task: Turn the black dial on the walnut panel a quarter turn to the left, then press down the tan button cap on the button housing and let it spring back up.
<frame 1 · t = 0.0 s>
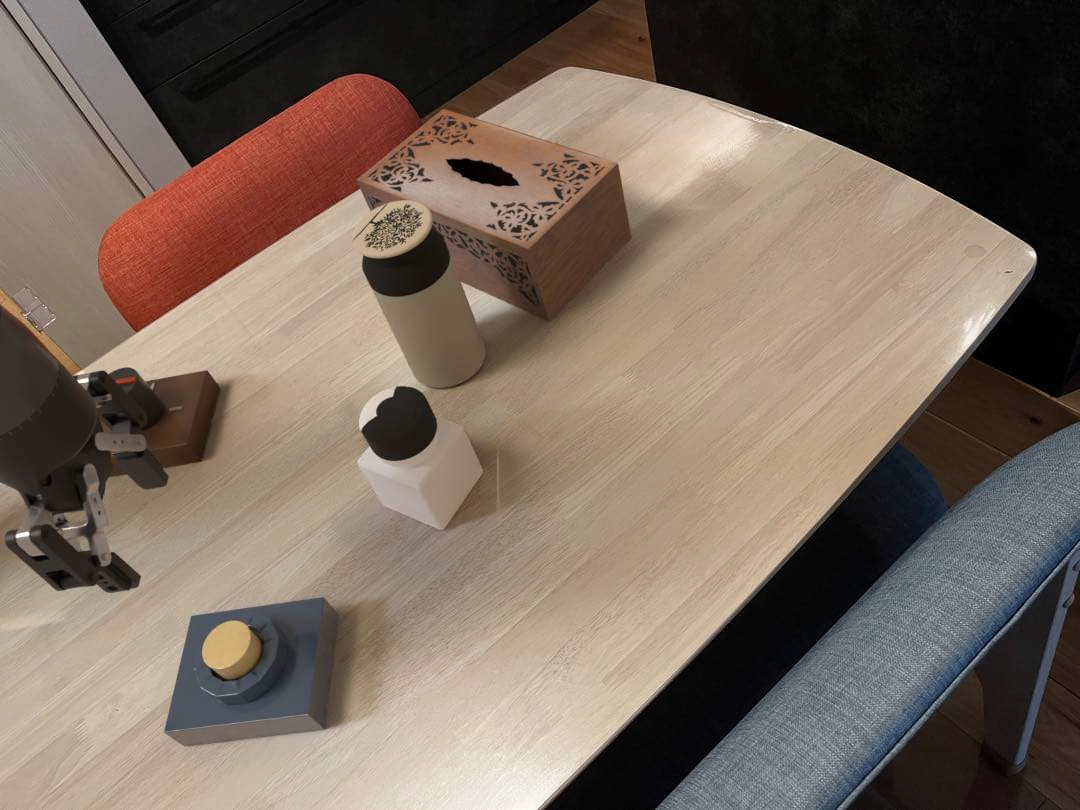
hand: (143, 532, 66), 17 cm above the table, tool pointing down, fingers open, 8 cm apart
tan button cap: (232, 649, 71), point 6 cm above the table, slide at 0.1 cm
tissue box cover: (504, 244, 105), on the table
dial panel: (159, 432, 97), on the table
button housing: (264, 678, 76), on the table
travel mug: (450, 361, 95), on the table
dial: (129, 398, 93), point 6 cm above the table, hinge at 0.0°
medicine bottle: (434, 490, 84), on the table
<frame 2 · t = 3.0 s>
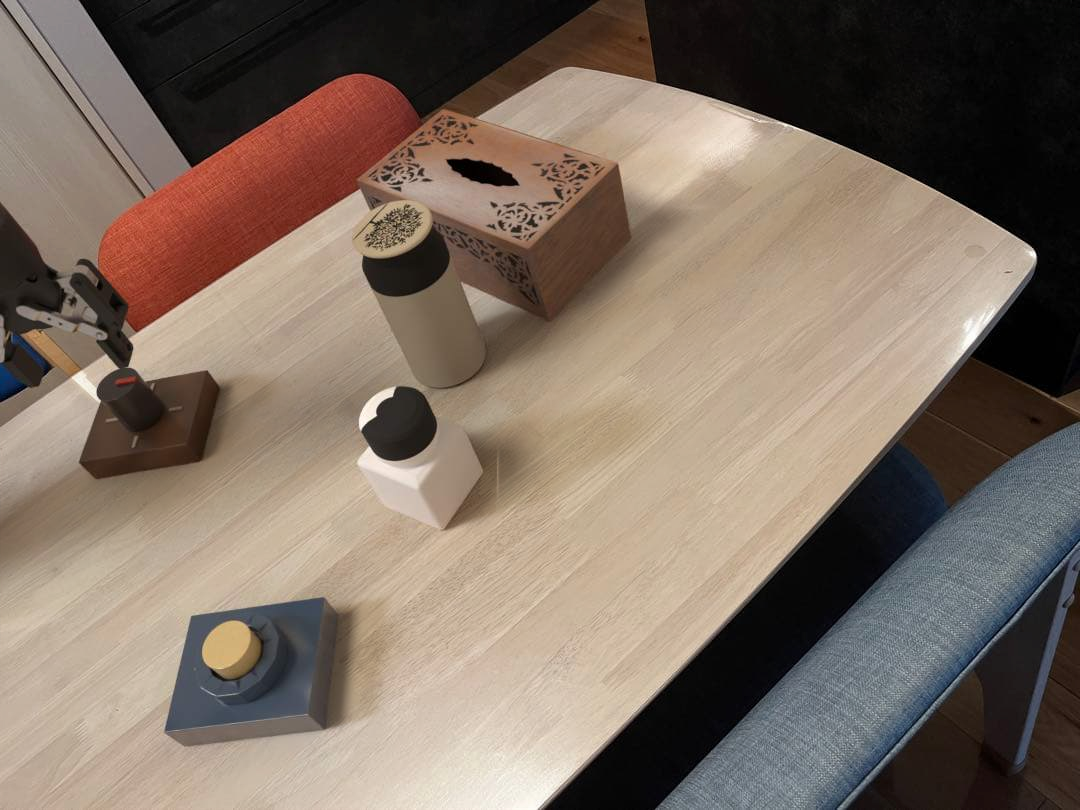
hand: (82, 370, 80), 16 cm above the table, tool pointing down, fingers open, 8 cm apart
nothing on the table moved.
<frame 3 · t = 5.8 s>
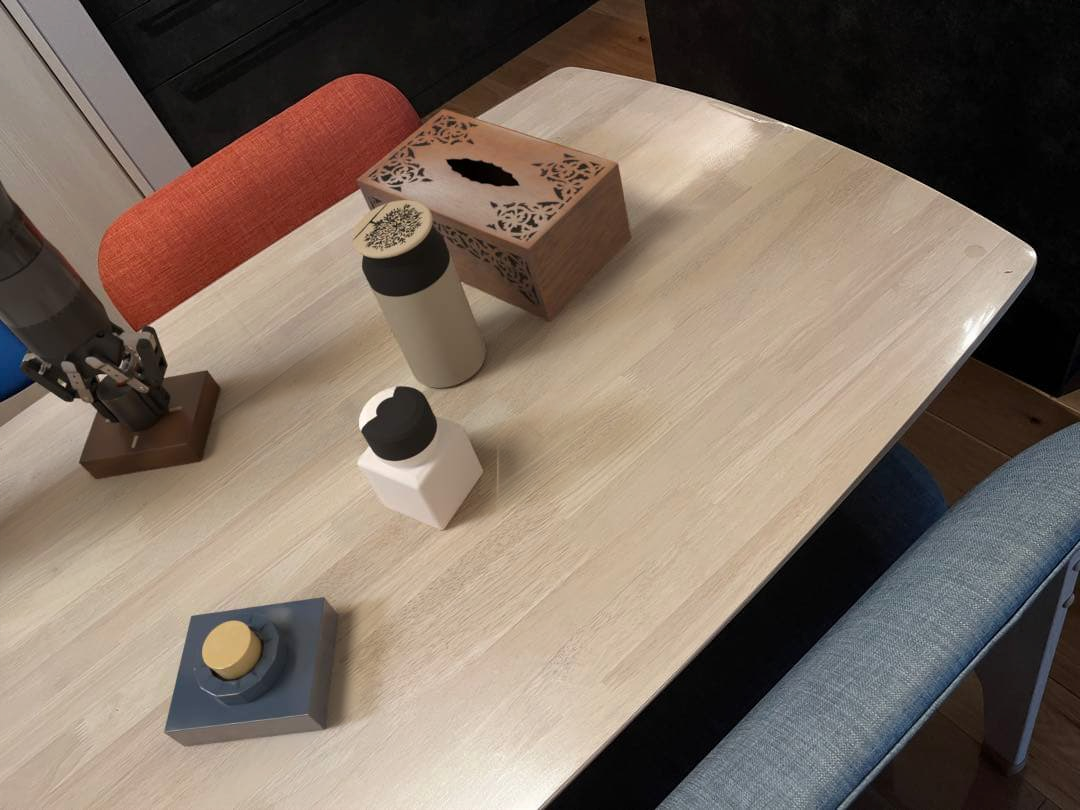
hand: (141, 411, 94), 4 cm above the table, tool pointing down, fingers closed on dial, 4 cm apart
dial: (129, 398, 93), point 6 cm above the table, hinge at 0.1°, touching gripper
everything else where it was.
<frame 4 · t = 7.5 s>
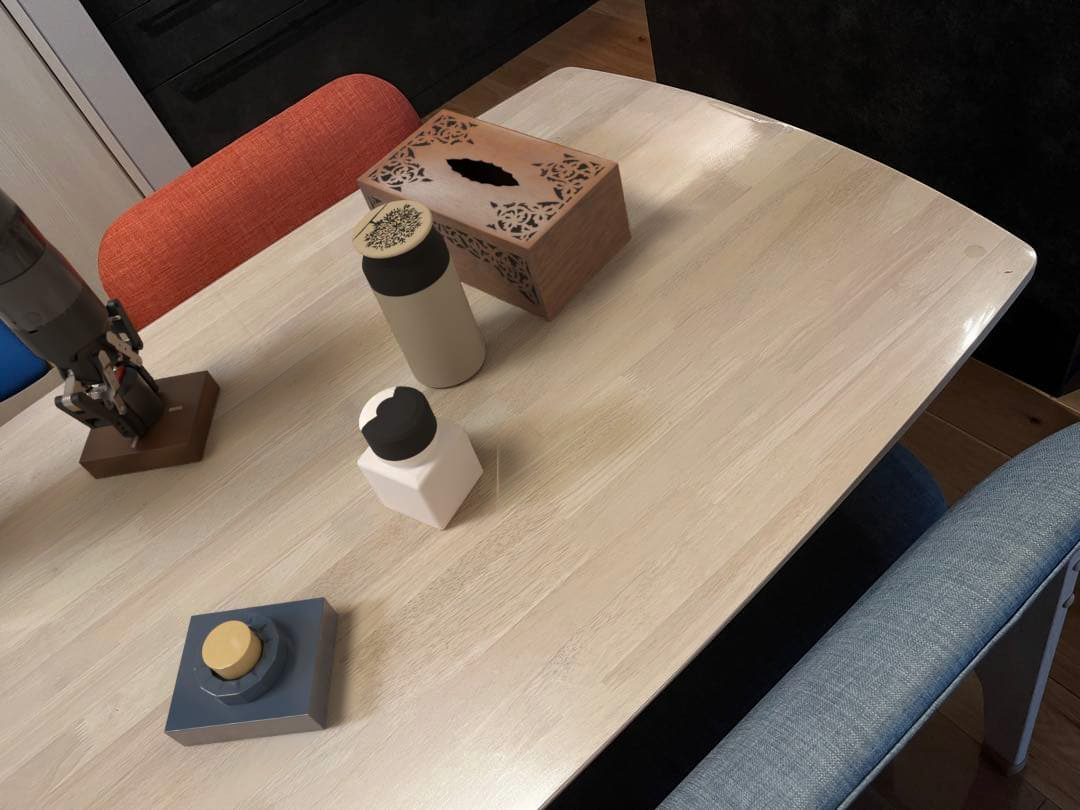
hand: (143, 412, 95), 3 cm above the table, tool pointing down, fingers open, 4 cm apart
dial: (129, 398, 93), point 6 cm above the table, hinge at 90.7°
everything else where it was.
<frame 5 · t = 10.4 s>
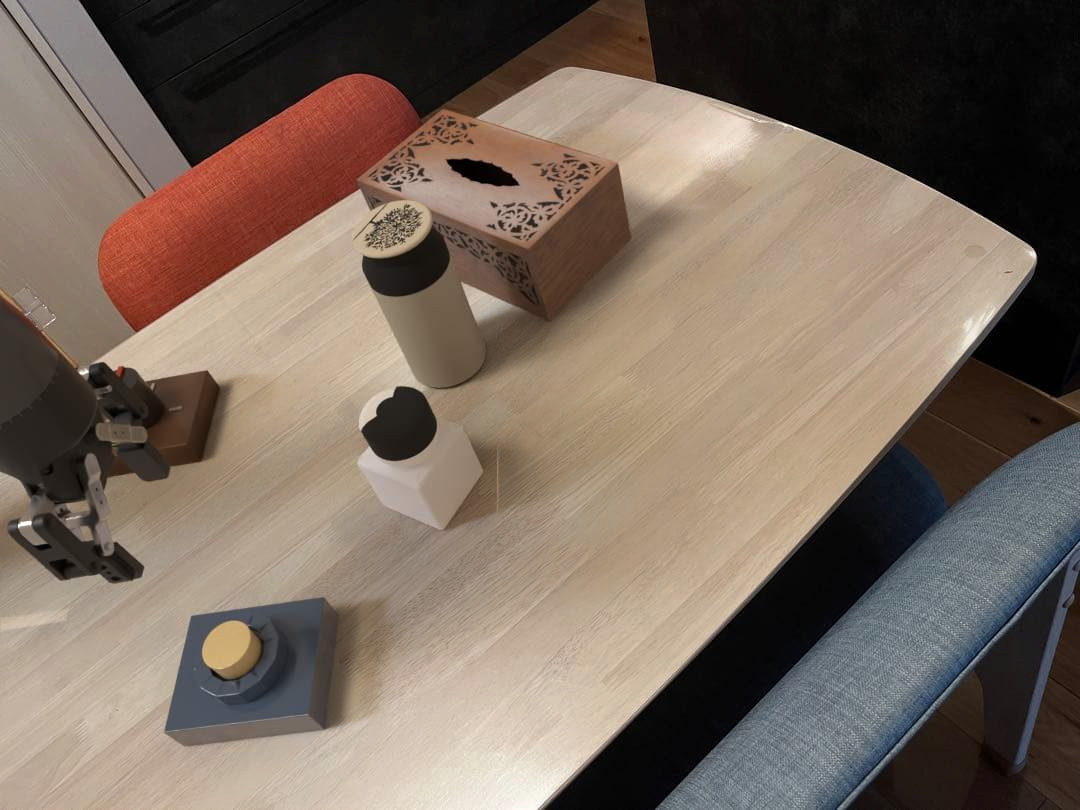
hand: (145, 524, 66), 17 cm above the table, tool pointing down, fingers open, 8 cm apart
nothing on the table moved.
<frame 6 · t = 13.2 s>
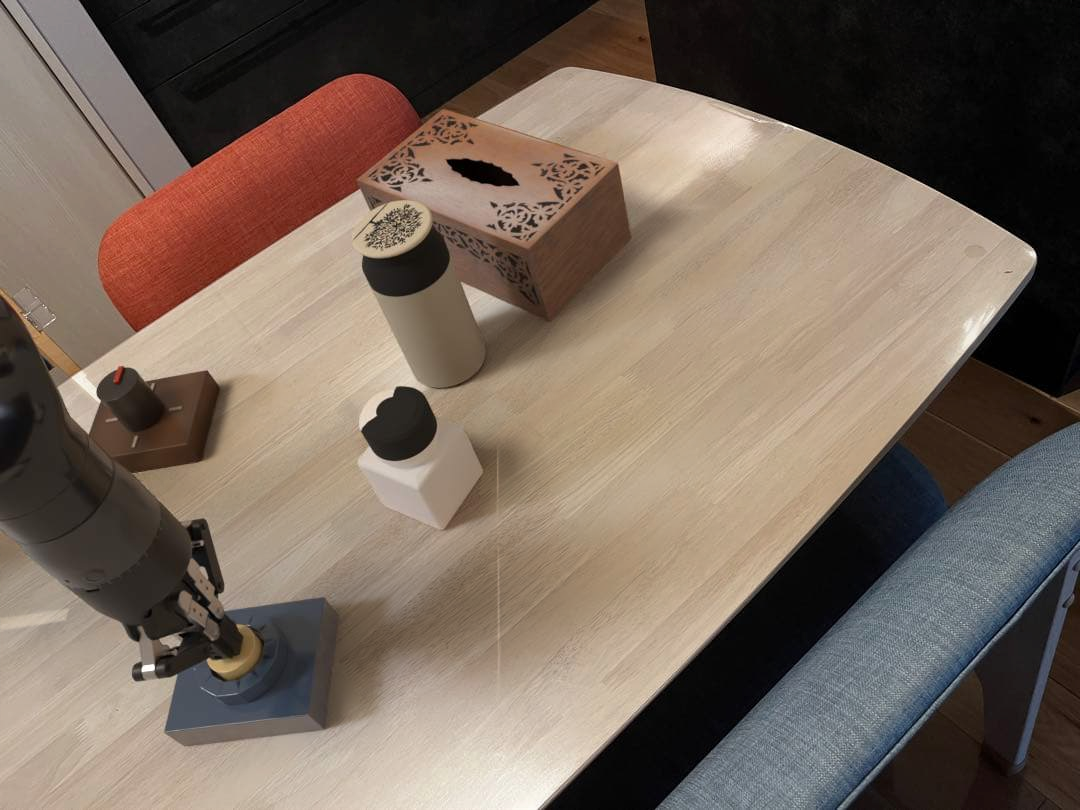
hand: (230, 648, 71), 6 cm above the table, tool pointing down, fingers closed
tan button cap: (236, 653, 72), point 5 cm above the table, slide at -0.6 cm, touching gripper
everything else where it was.
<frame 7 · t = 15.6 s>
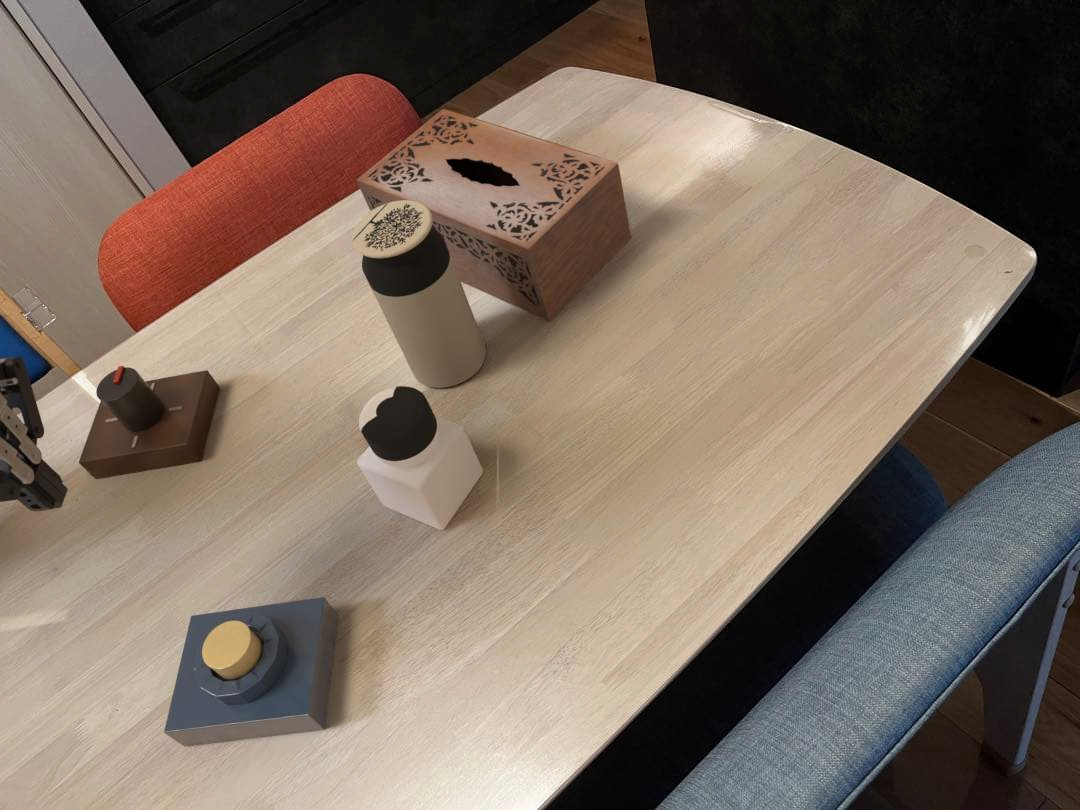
hand: (53, 501, 67), 19 cm above the table, tool pointing down, fingers closed
tan button cap: (232, 649, 71), point 6 cm above the table, slide at 0.1 cm
everything else where it was.
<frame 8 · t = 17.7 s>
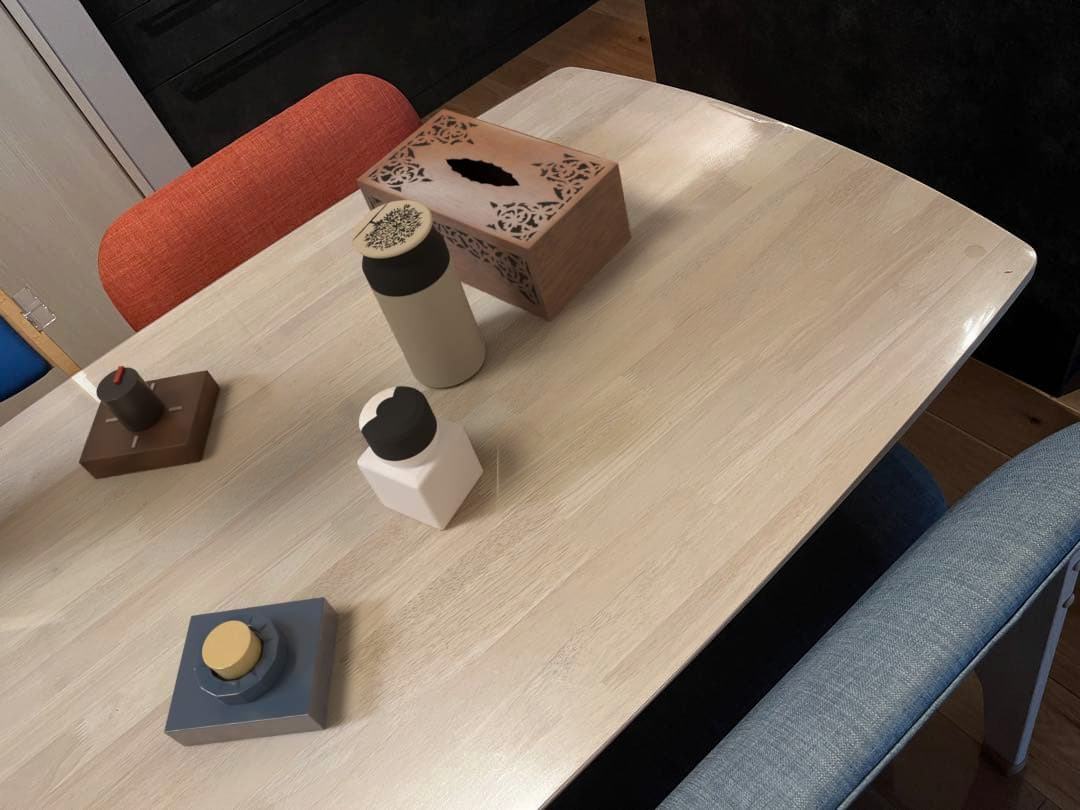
nothing on the table moved.
at the end: dial at +91° (first picture: +0°); tan button cap pushed in 1.1 cm at the most during the clip, back to where it started at the end; tan button cap slide at 0.1 cm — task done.
